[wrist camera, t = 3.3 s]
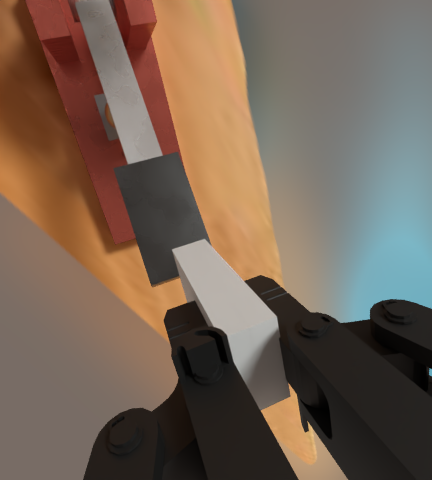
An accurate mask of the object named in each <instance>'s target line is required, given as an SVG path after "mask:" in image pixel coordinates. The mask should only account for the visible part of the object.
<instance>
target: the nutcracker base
mask: <svg viewBox="0 0 432 480" xmlns="http://www.w3.org/2000/svg"><path fill="white" fill-rule="evenodd" d="M25 1H26V4H27V7H28V9H29V12H30V15H31V18H32V20H33V23H34V26H35V28H36V31H37V34H38V37H39V39H40V42H41V45H42V47H43V50H44V53H45V56H46V58H47V61H48V64H49V66H50V69H51V72H52V74H53V77H54V80H55V83H56V85H57V88H58V91H59V93H60V96H61V99H62V102H63V104H64V107H65V110H66V112H67V115H68V118H69V121H70V123H71V126H72V129H73V131H74V134H75V137H76V139H77V142H78V145H79V148H80V150H81V153H82V156H83V158H84V161H85V164H86V167H87V169H88V172H89V175H90V177H91V180H92V183H93V185H94V188H95V191H96V194H97V196H98V199H99V202H100V204H101V207H102V210H103V213H104V215H105V218H106V221H107V223H108V226H109V229H110V232H111V234H112V237H113V240H114V242H115V244H118V243H122V242H125V241H128V240H131V239H135V238H136V237H135V234H134V231H133V228H132V225H131V222H130V219H129V215H128V212H127V209H126V206H125V203H124V200H123V197H122V194H121V191H120V188H119V185H118V182H117V179H116V175H115V172H114V169H113V168H116V167H120V166H124V165H128V164H127V161H126V158H125V155H124V152H123V149H122V146H121V143H120V140H119V137H118V134H117V131H116V128H115V125H114V122H113V119H112V116H111V113H110V110H109V107H108V104H107V101H106V98H105V95H104V92H103V89H102V86H101V83H100V80H99V77H98V74H97V71H96V68H95V65H94V62H93V59H92V56H91V53H90V50H89V47H88V44H87V41H86V38H85V35H84V32H83V29H82V26H81V23H80V22H77V23H75V21H74V18H73V15H72V12H71V9H70V6H69V3H68V0H25ZM114 2H115V7H116V13H117V16H116V17H115V20H116V23H117V26H118V29H119V31H120V34H121V37H122V40H123V43H124V46H125V49H126V51H127V54H128V57H129V60H130V63H131V66H132V69H133V71H134V74H135V77H136V80H137V83H138V86H139V89H140V91H141V94H142V97H143V100H144V103H145V106H146V109H147V111H148V114H149V117H150V120H151V123H152V126H153V129H154V132H155V134H156V137H157V140H158V143H159V146H160V149H161V152H162V154H163V155H167V154H171V153H174V152H178V153H179V156H180V159H181V162H182V164H183V161H182V157H181V153H180V149H179V145H178V141H177V137H176V133H175V129H174V125H173V121H172V117H171V113H170V109H169V105H168V101H167V97H166V93H165V89H164V85H163V81H162V77H161V73H160V70H159V66H158V62H157V58H156V54H155V50H154V46H153V42H152V38H151V35H152V32H153V30H154V27H155V25H156V23H157V20H156V16H155V11H154V7H153V3H152V0H114ZM183 167H184V165H183ZM184 170H185V169H184Z"/></svg>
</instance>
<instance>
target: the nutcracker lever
mask: <svg viewBox="0 0 432 480" xmlns="http://www.w3.org/2000/svg"><path fill="white" fill-rule="evenodd" d="M68 3H69V6H70V9H71V12H72V15H73V18H74V21H75V23H77V22H80V23H81V26H82V29H83V32H84V35H85V38H86V41H87V44H88V47H89V50H90V53H91V56H92V59H93V62H94V65H95V68H96V71H97V74H98V77H99V80H100V83H101V86H102V89H103V92H104V95H105V98H106V101H107V104H108V107H109V110H110V113H111V116H112V119H113V122H114V125H115V128H116V131H117V134H118V137H119V140H120V143H121V146H122V149H123V152H124V155H125V158H126V161H127V164H128V165H124V166H120V167H116V168H113V169H114V172H115V175H116V179H117V182H118V185H119V188H120V191H121V194H122V197H123V200H124V203H125V206H126V209H127V212H128V215H129V219H130V222H131V225H132V228H133V231H134V234H135V237H136V240H137V243H138V246H139V249H140V252H141V255H142V259H143V262H144V265H145V268H146V271H147V274H148V277H149V280H150V283H151V286H152V287H155V286H158V285H161V284H164V283H167V282H170V281H172V280H175V279H178V278H180V275H179V272H178V269H177V265H176V262H175V258H174V255H173V252H172V249H175V248H178V247H181V246H184V245H187V244H190V243H193V242H196V241H199V240H203V239H205V240H206V241H207V242H208V243H209V244H210V245H211V243H210V240H209V237H208V234H207V232H206V229H205V226H204V223H203V220H202V218H201V215H200V212H199V209H198V206H197V204H196V201H195V198H194V195H193V192H192V190H191V187H190V184H189V181H188V178H187V176H186V173H185V170H184V167H183V164H182V162H181V159H180V156H179V153H178V152H174V153H171V154H167V155H163V154H162V152H161V149H160V146H159V143H158V140H157V137H156V134H155V132H154V129H153V126H152V123H151V120H150V117H149V114H148V111H147V109H146V106H145V103H144V100H143V97H142V94H141V91H140V89H139V86H138V83H137V80H136V77H135V74H134V71H133V69H132V66H131V63H130V60H129V57H128V54H127V51H126V49H125V46H124V43H123V40H122V37H121V34H120V31H119V29H118V26H117V23H116V20H115V17H116V16H117V13H116V7H115V2H114V0H68Z"/></svg>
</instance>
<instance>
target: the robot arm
mask: <svg viewBox="0 0 432 480" xmlns="http://www.w3.org/2000/svg"><path fill="white" fill-rule="evenodd" d="M172 252H173V255H174V258H175V262H176V265H177V269H178V272H179V275H180V279H181V282H182V286H183V289H184V292H185V296H186V299H187V303H186V304H183V305H180V306H177V307H175V308H172V309H169V310H167V312H166V315H165V318H164V323H165V327H166V330H167V334H168V337H169V341H170V344H171V348H172V354H171V357H172V360H173V363H174V366H175V368H176V371H177V374H178V377H179V379H178V383H177V386H176V388H175V390H174V391H173V393H172V394H171V395H170V397H169V398H168V399H167V400H166V401H164V402H163V403H162V404H161V405H160V406H158V407H157V408H156V409H155V410H153V411H152V412H151V411H149V410H146V409H144V408H133V409H129V410H127V411H124V412H122V413H119V414H118V415H117V416H115V417H114V418H112V419H111V420H110V421H109V422H108V423H107V424H106V425H105V426H104V427H103V429H102V430H101V431H100V433H99V434H98V437H97V439H96V441H95V443H94V445H93V448H92V452H91V455H90V458H89V462H88V465H87V468H86V472H85V475H84V479H83V480H298V478H297V476H296V474H295V473H294V471H293V469H292V467H291V465H290V463H289V462H288V460H287V458H286V456H285V454H284V453H283V451H282V449H281V447H280V446H279V443H278V442H277V440H276V438H275V436H274V434H273V432H272V431H271V429H270V427H269V425H268V423H267V422H266V420H265V418H264V416H263V414H262V413H261V411H260V410H262V409H265V408H267V407H269V406H271V405H273V404H275V403H277V402H280V401H282V400H284V399H286V398H288V397H290V391H289V385H288V383H289V384H290V385H291V387H292V388H293V389H294V391H295V392H296V394H297V398H298V404H299V410H300V416H301V423H302V426H303V429H304V431H305V432H307V431H309V429H308V423H307V421H308V422H309V423H310V425H311V426H312V428H313V429H314V431H315V432H316V434H317V435H318V437H319V438H320V439H321V441H322V442H323V444H324V445H325V447H326V448H327V450H328V451H329V452H330V454H331V455H332V457H333V458H334V460H335V461H336V463H337V464H338V465H339V467H340V468H341V470H342V471H343V472H344V474H345V475H346V477H347V478H348V480H432V376H430V375H429V368H431V369H432V309H430V308H428V307H425V306H422V305H419V304H417V303H414V302H410V301H405V300H396V299H390V300H385V301H381V302H378V303H376V304H374V305H373V307H372V308H371V309H370V319H368V320H362V321H355V322H348V323H340V322H338V321H337V320H336V319H334V318H332V317H331V316H329V315H327V314H322V313H318V312H316V313H311V312H309V311H308V310H307V309H306V308H305V307H304V306H303V305H301V304H300V303H299V302H298V301H297V300H296V299H294V298H293V297H292V296H291V295H290V294H289V293H287V292H286V291H285V290H284V289H283V288H282V287H280V285H279V284H277V283H276V282H275V281H274V280H273V279H270V278H268V277H265V276H262V275H260V276H257V277H254V278H251V279H249V280H246V281H243V280H242V279H241V277H240V276H239V275H238V274H237V273H236V272H235V271H234V270H233V269H232V268H231V267H230V266H229V265H228V263H227V262H226V261H225V260H224V259H223V258H222V257H221V256H220V255H219V254H218V253H217V252H216V251H215V249H214V248H213V247H212V246H211V245H210V244H209V243H208V242H207V241H206V240H205V239H203V240H199V241H196V242H193V243H190V244H187V245H184V246H181V247H178V248H175V249H172Z"/></svg>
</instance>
